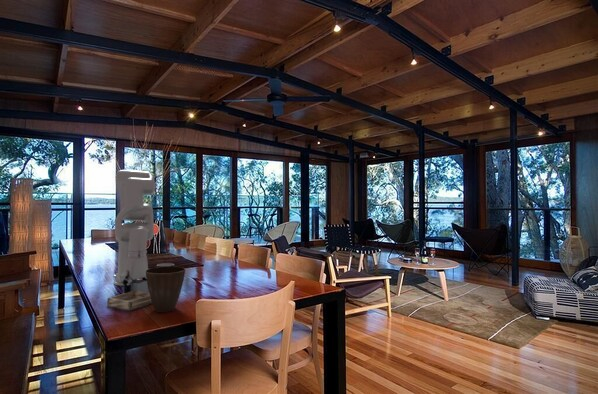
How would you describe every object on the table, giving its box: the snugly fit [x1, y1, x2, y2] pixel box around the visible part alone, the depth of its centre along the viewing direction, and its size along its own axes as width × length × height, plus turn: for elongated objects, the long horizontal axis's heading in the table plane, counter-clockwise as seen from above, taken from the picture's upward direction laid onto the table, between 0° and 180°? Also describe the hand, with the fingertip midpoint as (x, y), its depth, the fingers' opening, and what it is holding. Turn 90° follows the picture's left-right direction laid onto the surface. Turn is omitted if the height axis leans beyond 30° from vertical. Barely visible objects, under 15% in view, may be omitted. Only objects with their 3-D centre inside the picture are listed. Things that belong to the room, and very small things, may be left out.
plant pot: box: [146, 266, 186, 313], centre depth 135 cm, size 15×15×16 cm
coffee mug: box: [149, 262, 175, 269], centre depth 178 cm, size 12×9×10 cm
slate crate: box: [127, 279, 149, 296], centre depth 156 cm, size 8×6×6 cm
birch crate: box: [106, 291, 153, 312], centre depth 141 cm, size 12×13×4 cm
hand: (135, 291), depth 156 cm, fingers open, 9 cm apart
